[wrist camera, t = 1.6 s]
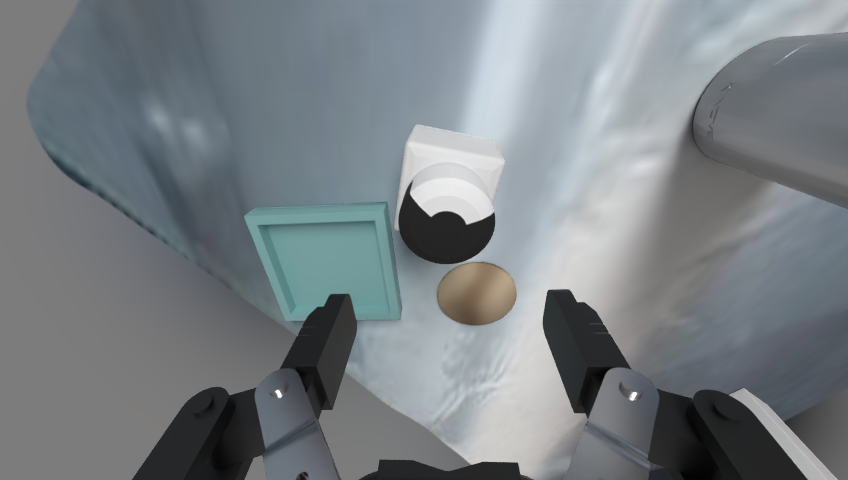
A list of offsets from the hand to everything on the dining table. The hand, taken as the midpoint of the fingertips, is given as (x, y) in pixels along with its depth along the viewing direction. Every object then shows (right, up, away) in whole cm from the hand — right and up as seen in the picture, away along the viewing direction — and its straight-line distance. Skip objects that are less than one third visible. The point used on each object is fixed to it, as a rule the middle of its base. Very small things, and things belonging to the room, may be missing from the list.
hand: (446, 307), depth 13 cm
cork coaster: (+5, -4, +23) cm, 24 cm away
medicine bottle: (+1, +9, +17) cm, 19 cm away
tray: (-11, 0, +22) cm, 25 cm away
